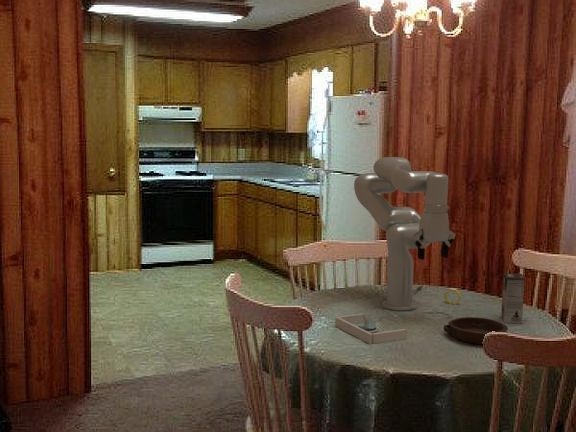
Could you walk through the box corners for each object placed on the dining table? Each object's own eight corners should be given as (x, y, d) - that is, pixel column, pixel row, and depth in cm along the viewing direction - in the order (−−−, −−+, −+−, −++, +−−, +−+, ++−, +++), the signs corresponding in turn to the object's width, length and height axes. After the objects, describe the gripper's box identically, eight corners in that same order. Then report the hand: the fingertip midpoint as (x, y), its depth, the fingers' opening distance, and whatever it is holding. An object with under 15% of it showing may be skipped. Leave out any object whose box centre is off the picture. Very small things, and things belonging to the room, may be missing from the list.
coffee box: (500, 316, 237) (502, 272, 235) (519, 317, 235) (521, 273, 233) (503, 322, 228) (505, 277, 226) (522, 324, 226) (525, 278, 224)
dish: (451, 327, 222) (451, 312, 222) (518, 337, 211) (519, 322, 211) (435, 340, 207) (436, 325, 207) (507, 352, 196) (508, 336, 196)
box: (335, 325, 222) (335, 317, 222) (368, 321, 228) (368, 312, 228) (370, 344, 202) (370, 334, 202) (406, 338, 208) (406, 329, 208)
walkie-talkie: (405, 299, 261) (424, 290, 278) (405, 288, 261) (424, 279, 277) (385, 296, 266) (405, 287, 283) (385, 285, 265) (405, 277, 282)
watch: (460, 304, 254) (462, 289, 253) (458, 306, 251) (460, 291, 250) (445, 301, 257) (446, 286, 256) (443, 303, 254) (444, 288, 253)
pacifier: (382, 330, 218) (365, 326, 221) (383, 312, 217) (366, 308, 221) (372, 335, 212) (355, 332, 215) (373, 317, 211) (356, 313, 215)
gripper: (449, 207, 232) (446, 254, 234) (408, 208, 225) (405, 257, 228) (463, 210, 225) (459, 258, 227) (420, 211, 218) (417, 262, 221)
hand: (432, 258), depth 227 cm, fingers open, 9 cm apart
